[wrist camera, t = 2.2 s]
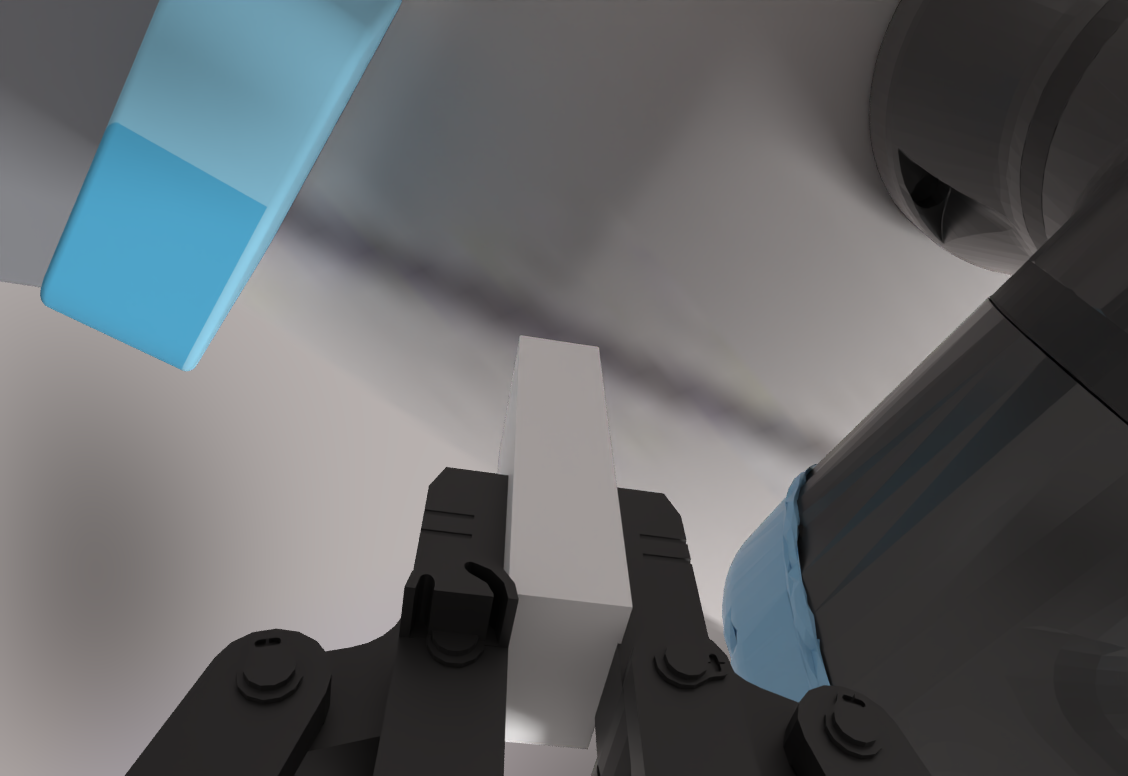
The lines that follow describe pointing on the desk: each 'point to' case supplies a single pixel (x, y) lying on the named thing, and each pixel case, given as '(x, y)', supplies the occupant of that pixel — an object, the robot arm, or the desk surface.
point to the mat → (56, 114)
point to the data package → (205, 163)
